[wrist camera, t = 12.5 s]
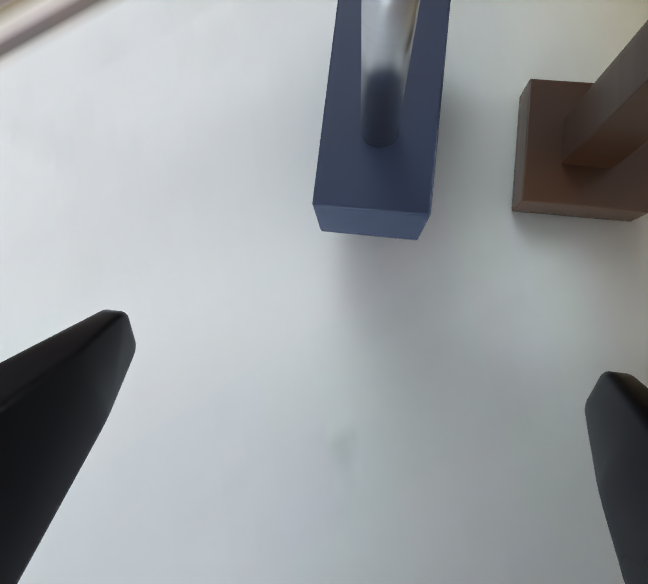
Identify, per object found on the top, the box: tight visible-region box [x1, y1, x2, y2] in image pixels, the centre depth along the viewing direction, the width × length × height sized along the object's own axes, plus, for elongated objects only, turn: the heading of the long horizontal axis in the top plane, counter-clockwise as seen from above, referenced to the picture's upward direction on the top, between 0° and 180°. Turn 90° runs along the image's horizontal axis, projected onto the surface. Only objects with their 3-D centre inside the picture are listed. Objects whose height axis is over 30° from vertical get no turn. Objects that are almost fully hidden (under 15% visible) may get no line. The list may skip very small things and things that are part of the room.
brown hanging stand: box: [512, 20, 648, 222], centre depth 12 cm, size 5×13×13 cm, turn 83°
